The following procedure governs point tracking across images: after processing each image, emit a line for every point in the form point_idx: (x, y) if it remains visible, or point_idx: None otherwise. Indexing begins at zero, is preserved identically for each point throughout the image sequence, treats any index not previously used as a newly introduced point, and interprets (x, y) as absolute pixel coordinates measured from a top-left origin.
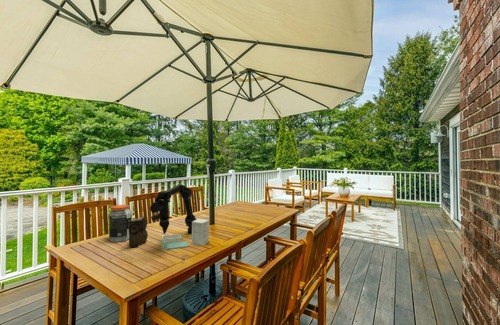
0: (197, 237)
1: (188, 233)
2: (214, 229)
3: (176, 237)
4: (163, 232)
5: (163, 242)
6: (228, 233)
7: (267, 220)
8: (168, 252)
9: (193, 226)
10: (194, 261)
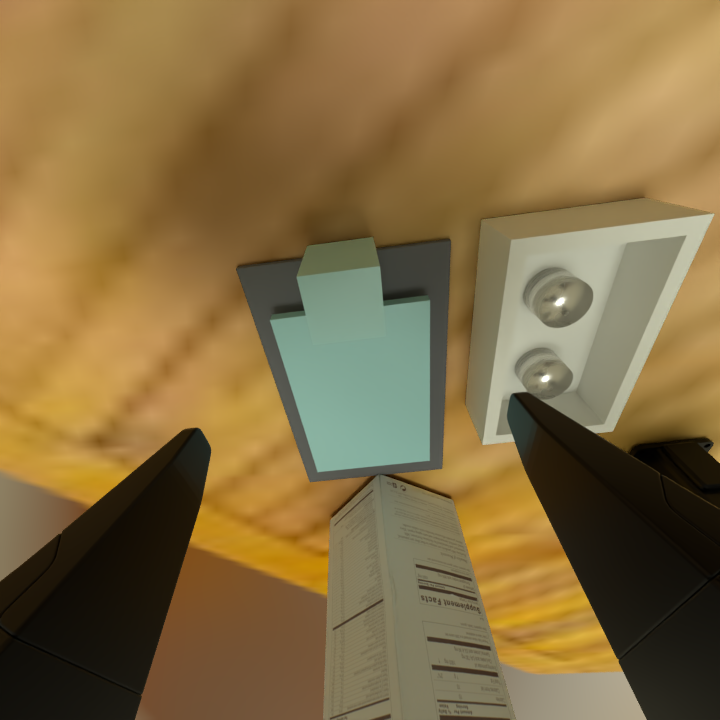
0: (351, 563)
1: (662, 448)
2: None
3: (552, 390)
4: (156, 455)
5: (307, 302)
6: (503, 594)
7: (587, 669)
8: (231, 325)
9: (384, 681)
10: (78, 491)
